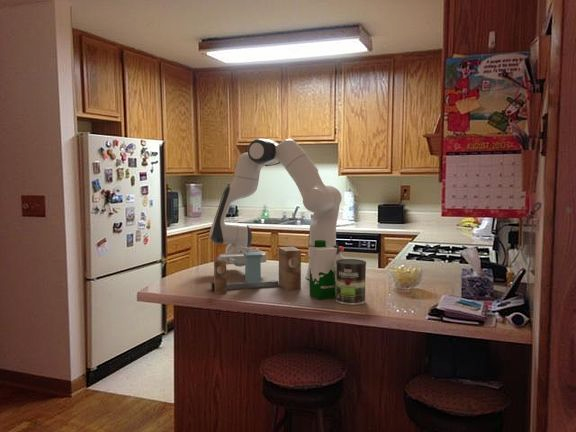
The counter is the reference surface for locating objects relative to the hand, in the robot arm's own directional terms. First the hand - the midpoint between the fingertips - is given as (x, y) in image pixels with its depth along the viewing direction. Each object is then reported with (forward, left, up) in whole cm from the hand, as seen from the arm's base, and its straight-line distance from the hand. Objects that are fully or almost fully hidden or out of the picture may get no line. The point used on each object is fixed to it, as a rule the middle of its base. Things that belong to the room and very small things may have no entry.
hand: (246, 261), depth 202 cm
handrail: (+3, +12, -8) cm, 15 cm away
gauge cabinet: (-14, +15, -8) cm, 22 cm away
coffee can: (-28, +42, -8) cm, 51 cm away
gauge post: (+13, +17, -8) cm, 23 cm away
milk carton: (-21, +33, -8) cm, 40 cm away
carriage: (0, +12, -6) cm, 13 cm away
